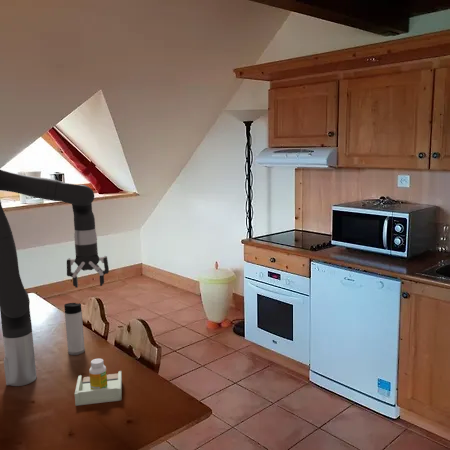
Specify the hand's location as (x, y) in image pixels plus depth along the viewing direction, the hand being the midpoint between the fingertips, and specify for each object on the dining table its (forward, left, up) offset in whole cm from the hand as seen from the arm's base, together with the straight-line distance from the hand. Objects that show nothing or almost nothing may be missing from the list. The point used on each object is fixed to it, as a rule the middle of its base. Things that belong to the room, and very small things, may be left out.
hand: (89, 286), depth 172 cm
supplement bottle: (+3, -21, -29) cm, 36 cm away
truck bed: (+3, -19, -30) cm, 36 cm away
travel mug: (-8, +13, -30) cm, 34 cm away
